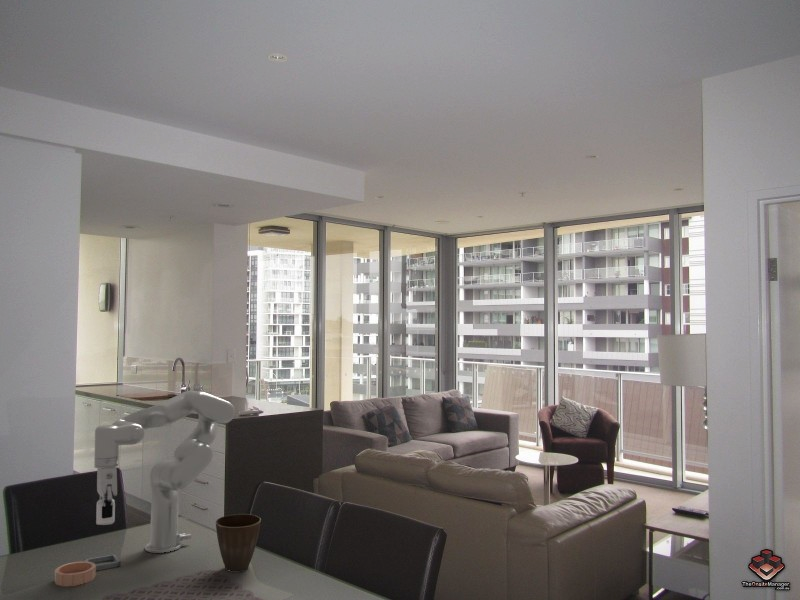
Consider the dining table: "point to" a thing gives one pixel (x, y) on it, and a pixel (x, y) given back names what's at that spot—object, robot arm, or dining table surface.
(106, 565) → the open rectangular frame
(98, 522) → the eye dropper bottle
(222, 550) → the plant pot
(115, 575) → the dining table surface
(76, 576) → the bowl
